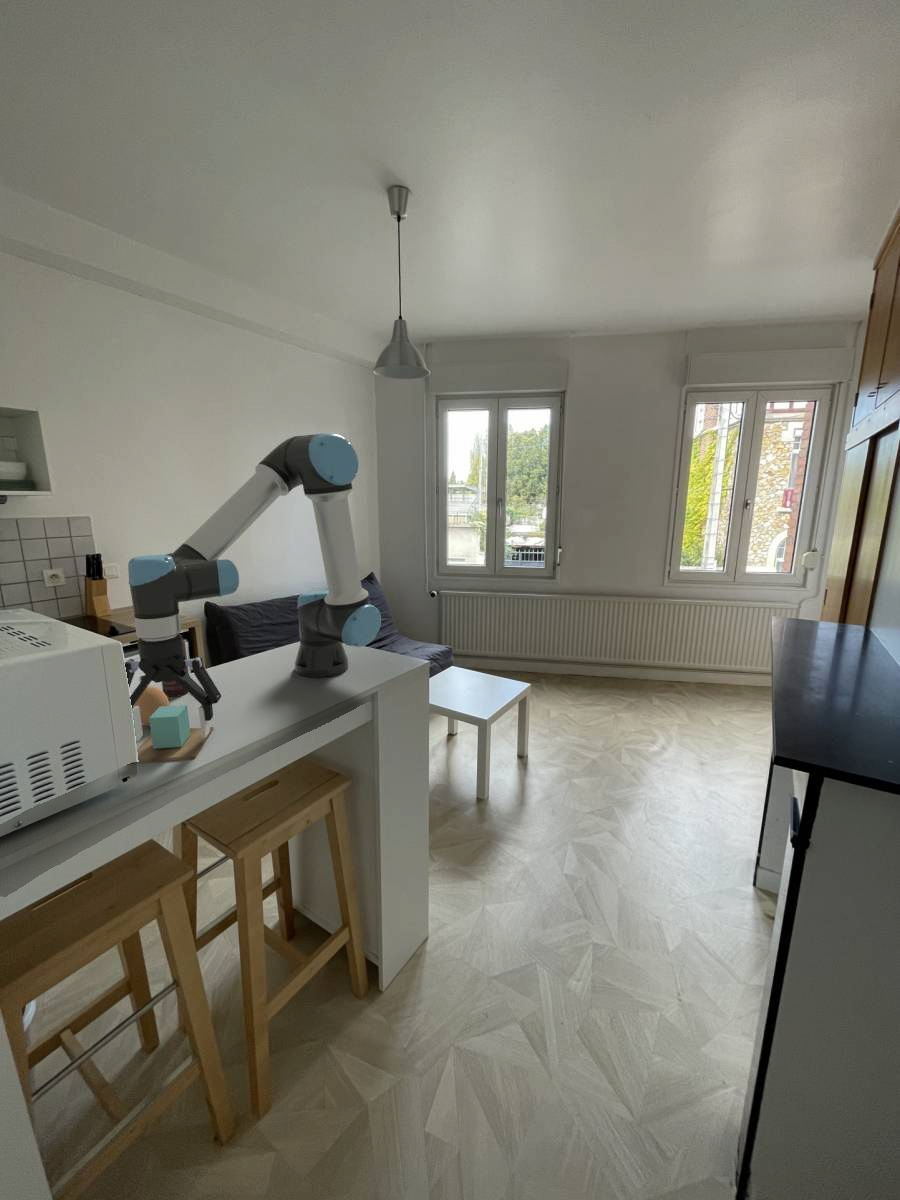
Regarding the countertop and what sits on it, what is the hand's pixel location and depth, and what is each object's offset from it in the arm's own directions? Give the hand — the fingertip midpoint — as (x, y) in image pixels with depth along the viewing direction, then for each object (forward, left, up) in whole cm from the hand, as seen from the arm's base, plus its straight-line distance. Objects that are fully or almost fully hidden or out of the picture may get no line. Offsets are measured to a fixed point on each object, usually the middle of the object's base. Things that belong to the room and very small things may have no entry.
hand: (172, 736), depth 100 cm
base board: (0, 0, -2) cm, 2 cm away
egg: (+8, -10, -2) cm, 13 cm away
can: (+9, -28, -2) cm, 29 cm away
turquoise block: (0, 0, -1) cm, 1 cm away
